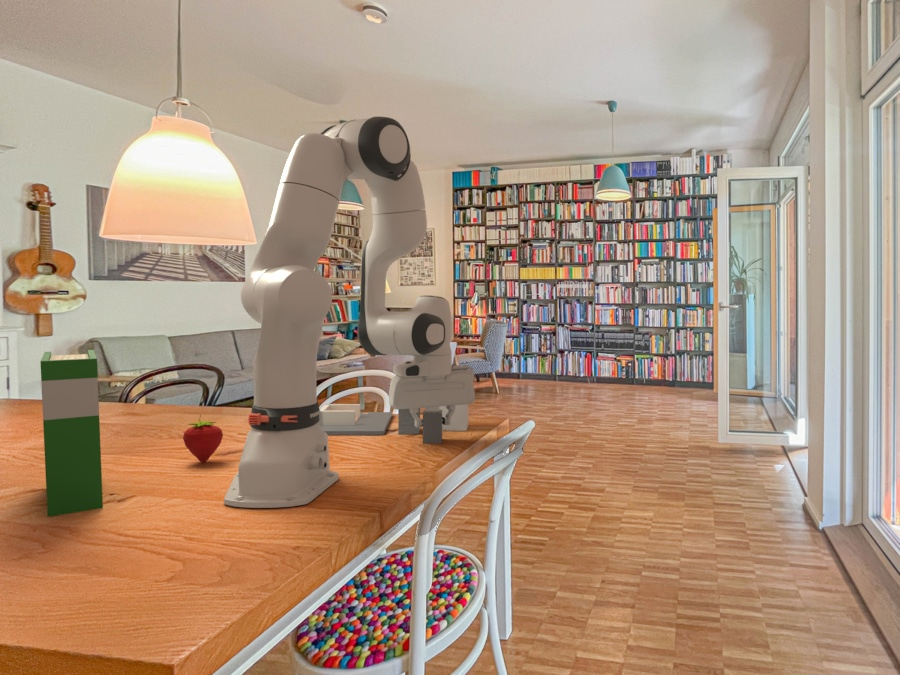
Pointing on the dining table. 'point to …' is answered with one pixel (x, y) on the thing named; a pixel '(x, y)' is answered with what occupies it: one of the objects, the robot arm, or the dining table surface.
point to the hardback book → (71, 433)
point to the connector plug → (432, 425)
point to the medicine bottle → (456, 418)
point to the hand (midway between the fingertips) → (432, 425)
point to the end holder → (352, 420)
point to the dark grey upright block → (407, 422)
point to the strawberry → (202, 439)
